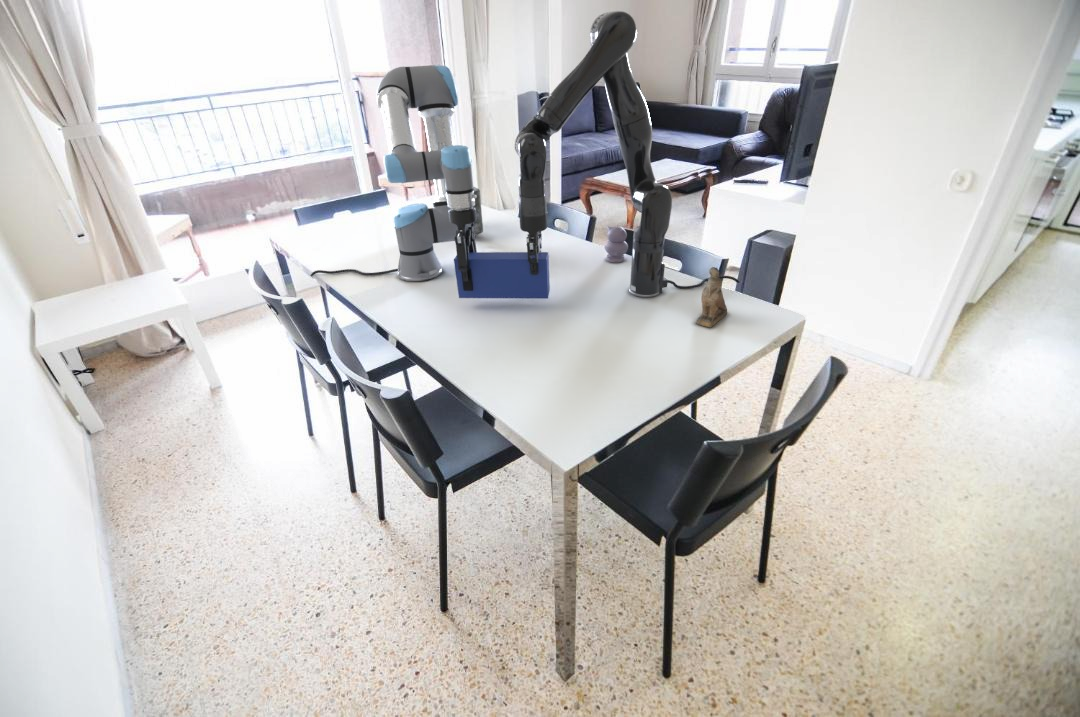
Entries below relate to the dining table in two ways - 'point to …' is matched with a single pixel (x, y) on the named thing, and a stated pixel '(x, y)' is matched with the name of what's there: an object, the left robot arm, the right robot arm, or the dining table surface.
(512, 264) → the box
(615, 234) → the cat figurine
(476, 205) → the concrete block
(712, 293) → the brown carved statuette
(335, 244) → the dining table surface
